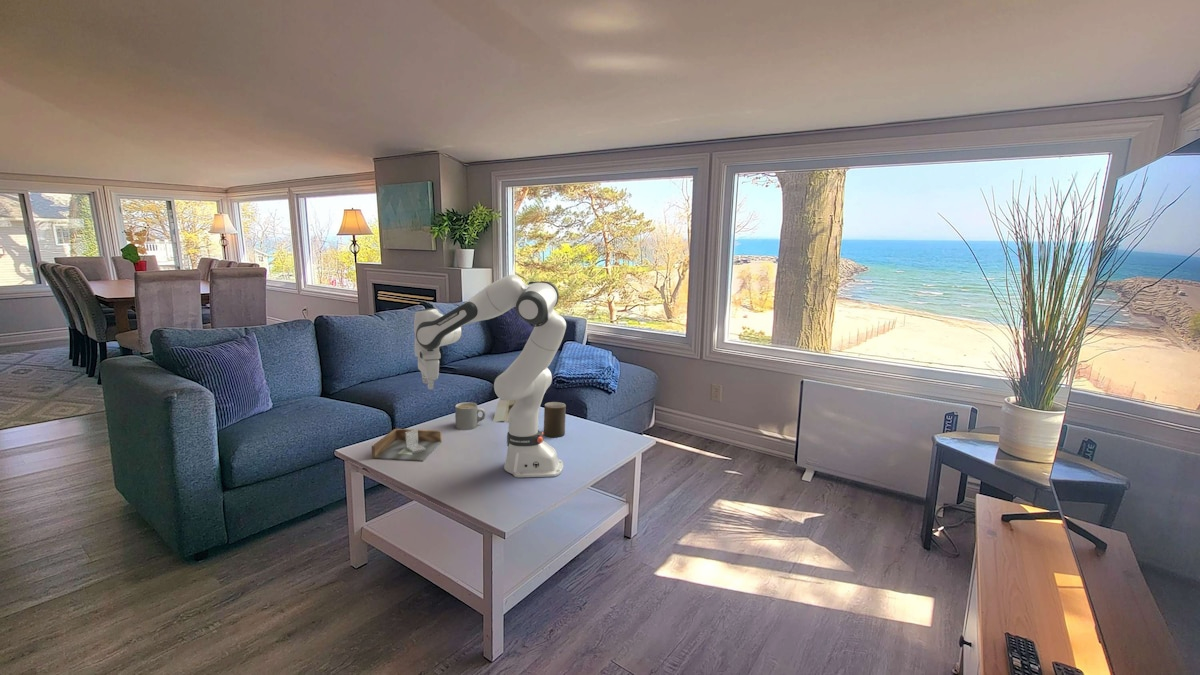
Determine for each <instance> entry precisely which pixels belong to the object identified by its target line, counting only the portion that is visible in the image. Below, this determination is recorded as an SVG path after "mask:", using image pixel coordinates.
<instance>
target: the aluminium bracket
mask: <svg viewBox="0 0 1200 675" xmlns="http://www.w3.org/2000/svg"><path fill="white" fill-rule="evenodd" d="M418 430H419V429H414V430H412V431H408V432H405V447H406V449H407V450H409V451H410V452H412V453H414V454H415V453H418V452H422V451H425V450H426V448H425V447H423V446H421V445H419V444H418Z"/></svg>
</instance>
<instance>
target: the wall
mask: <svg viewBox="0 0 1200 675" xmlns="http://www.w3.org/2000/svg"><path fill="white" fill-rule="evenodd" d="M515 402H516V400H513V401H503V400H501V399H500V398H499V399H498V402H497V406H496V409H495V412H494V416H493V419H492V422H493V423H494V422H496V423H497V422H506V423H509V411H510V409H511V408H512V407H513V405H514V404H515Z"/></svg>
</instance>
